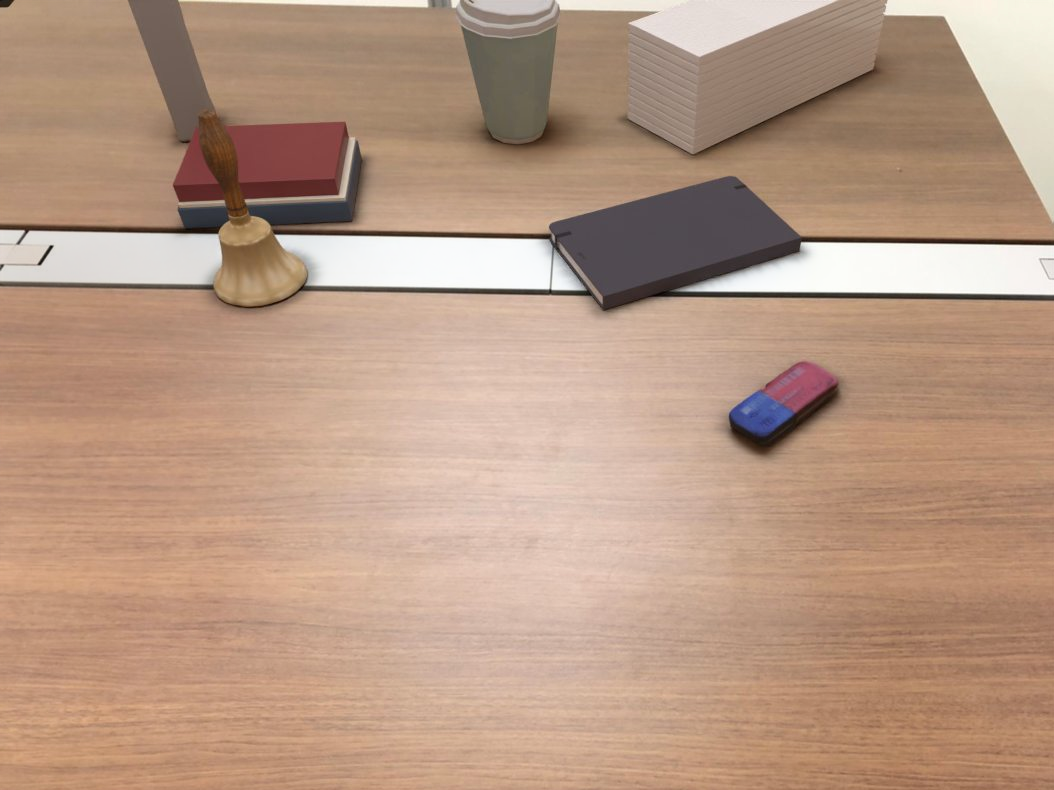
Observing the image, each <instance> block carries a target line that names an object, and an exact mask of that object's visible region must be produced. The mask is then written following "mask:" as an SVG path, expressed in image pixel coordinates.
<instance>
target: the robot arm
mask: <svg viewBox="0 0 1054 790" xmlns="http://www.w3.org/2000/svg"><path fill="white" fill-rule="evenodd" d="M14 1H15V0H0V8H1V9H3V8H5V9H6V8H9V7H11V5H12V4H13V3H14Z"/></svg>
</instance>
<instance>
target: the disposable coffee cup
mask: <svg viewBox="0 0 1054 790" xmlns="http://www.w3.org/2000/svg"><path fill="white" fill-rule="evenodd" d="M560 7H561V6H560V4H559V3H558V2H557V0H459V1H458V3H457V4H456V6H455V18H456V20H457V21H458V23H459V24H460V27H461V32H462V35H463V39H464V43H465V44H464V45H465V48H466V52H467V56H468V60H469V64H470V68H471V71H472V76H473V80H474V84H475V88H476V93H477V96H478V101H479V104H480V108H481V112H482V116H483V120H484V124H485V126H486V128H487V129H488V132H489V133H490V135H491V137H492V139H494V140H497V141H499V142H500V143H503V144H511V145H522V144H528V143H533V142H534V141H536V140H537V139H539V138H541V137H542V136H543V133H544V131H545V128H546V126H547V123H548V114H549V106H550V97H551V88H552V79H553V69H554V62H555V52H556V42H557V34H558V25H559V19H560V18H561V15H562V13H561V9H560Z"/></svg>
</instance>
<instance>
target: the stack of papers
mask: <svg viewBox="0 0 1054 790" xmlns="http://www.w3.org/2000/svg"><path fill="white" fill-rule="evenodd" d="M886 4H888V0H688V1H684V2H682V3H680V4H676V5H674V6H671V7H669V8H665V9H664V10H659V11H658V12H655V13H652V14H649V15H646V16H644V17H641V18H639V19H636V20H633V21H630V22H628V26H627V27H628V29H627V30H628V32H629V33H628V34H627V35H628V36H627V38H628V39H627V41H628V43H627V50H628V52H627V58H628V60H627V67H628V69H627V76H628V77H627V85H628V86H627V93H628V94H627V119H628V120H629V121H630V122H633V123H634V124H637V125H638V126H640V127H642V128H643V129H645V130H647V131H649V132H651V133H653V134H654V135H656V136H658V137H660V138H662V139H664V140H666V141H667V142H669V143H671V144H672V145H675V146H676V147H678V148H680V149H682V150H684V151H686V152H687V153H689V154H691V155H695V154H698V153H699V152H702V151H704V150H706V149H708V148H710V147H712V146H715V145H716V144H718V143H720V142H721V143H722V142H723V141H724V140H727V139H729V138H731V137H733V136H735V135H737V134H739V133H741V132H744V131H746V130H748V129H750V128H753V127H754V126H756V125H759V124H760V123H762V122H764V121H767V120H769V119H771V118H774V117H775V116H777V115H780V114H782V113H784V112H786V111H788V110H791V109H792V108H795V107H796V106H799V105H801V104H803V103H805V102H807V101H809V100H811V99H813V98H816V97H818V96H820V95H822V94H824V93H826V92H828V91H831V90H833V89H834V88H837V87H839V86H841V85H843V84H845V83H848V82H849V81H852V80H854V79H856V78H858V77H860V76H862V75H864V74H867V73H868V72H871V71H873V70H874V68H875V61H876V58H877V53H878V48H879V47H878V46H879V43H880V38H881V34H882V30H881V29H883V25H884V22H883V21H884V19H885V13H886V10H887V5H886Z"/></svg>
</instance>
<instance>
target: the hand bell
mask: <svg viewBox="0 0 1054 790" xmlns="http://www.w3.org/2000/svg"><path fill="white" fill-rule="evenodd" d="M216 113H217V112H216ZM216 113H215V111H214V110H212V109H203V110H201V111H199V113H198V118H199V144H200V148H201V152H202V155H203V157H204V160H205V162H206V164H207V166H208V168H209V170H210V171H211V173H212V174H213V176H214V177H215V179H216V180H217V182H218V183H219V185H220V188H221V190H222V194H223V197H224V201H225V204H226V207H227V212H228V216H229V219H230V221H228V222H227V223H225V224H224V225H223V226H222V227H219V228H220V229H219V231H218V241H219V245H220V250H221V265H220V268H219V269H218V270H217V271H216V273H215V276H214V279H213V284H212V285H213V290H214V293H215V295H216V296H217V297H218V298H219V299H220V300H222V301H223V302H224V303H227V304H231V305H232V306H240V307H247V308H249V307H262V306H267V305H270V304H273V303H277V302H281V301H282V300H285V299H287V298H289V297H291V296H292V295H294V294H295V293H297V292H298V291H299V290H300V289H301V288H302V287H303V285H304V284H305V282H306V281H307V278H308V268H307V265H306V263H305V262H304V261H303V260H302V259H300V258H299V256H297V255H295V254H293V253H292V252H289V251H287V250H286V249H285V248H284V247H283V246H282V244H281V243H280V242H279V240H278V239H277V236H276V235H275V233H274V231H273V229H272V225H270V224H269V223H268V222H267V221H266V220H264V219H262V218H259V217H255V216H250V215H249V212H248V207H247V204H246V203H245V199H244V197H243V194H242V191H241V188H240V185H239V180H238V159H237V155H236V150H235V147H234V144H233V141H232V139H231V137H230V135H229V133H228V132H227V130H226V129H225V127H224V126H225V125H224V124H223V123H222V122H221V120H220V118H219V116H218V114H217V115H216Z"/></svg>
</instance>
